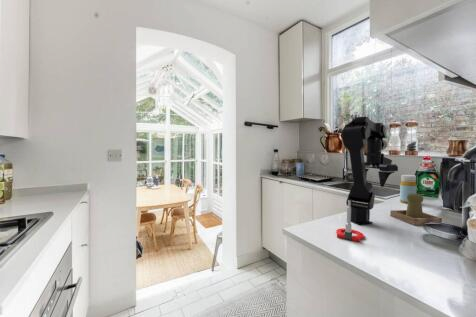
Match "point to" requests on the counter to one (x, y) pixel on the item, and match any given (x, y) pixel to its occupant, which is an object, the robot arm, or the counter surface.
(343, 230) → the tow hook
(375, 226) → the counter surface
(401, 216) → the tray
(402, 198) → the bottle
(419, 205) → the cork
